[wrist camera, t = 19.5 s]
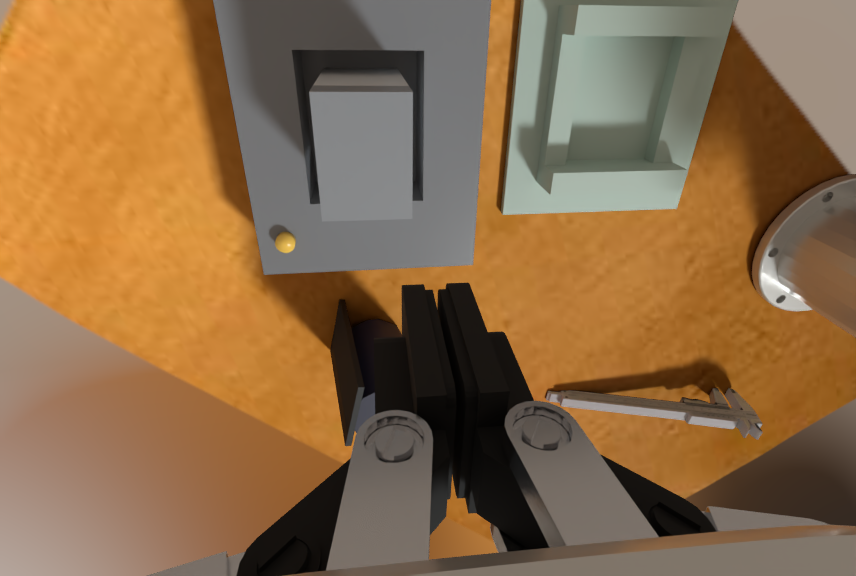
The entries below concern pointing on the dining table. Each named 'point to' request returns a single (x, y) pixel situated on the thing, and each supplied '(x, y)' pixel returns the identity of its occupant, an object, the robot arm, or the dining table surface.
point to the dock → (293, 132)
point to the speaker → (356, 368)
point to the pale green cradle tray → (609, 102)
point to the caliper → (671, 408)
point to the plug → (363, 143)
